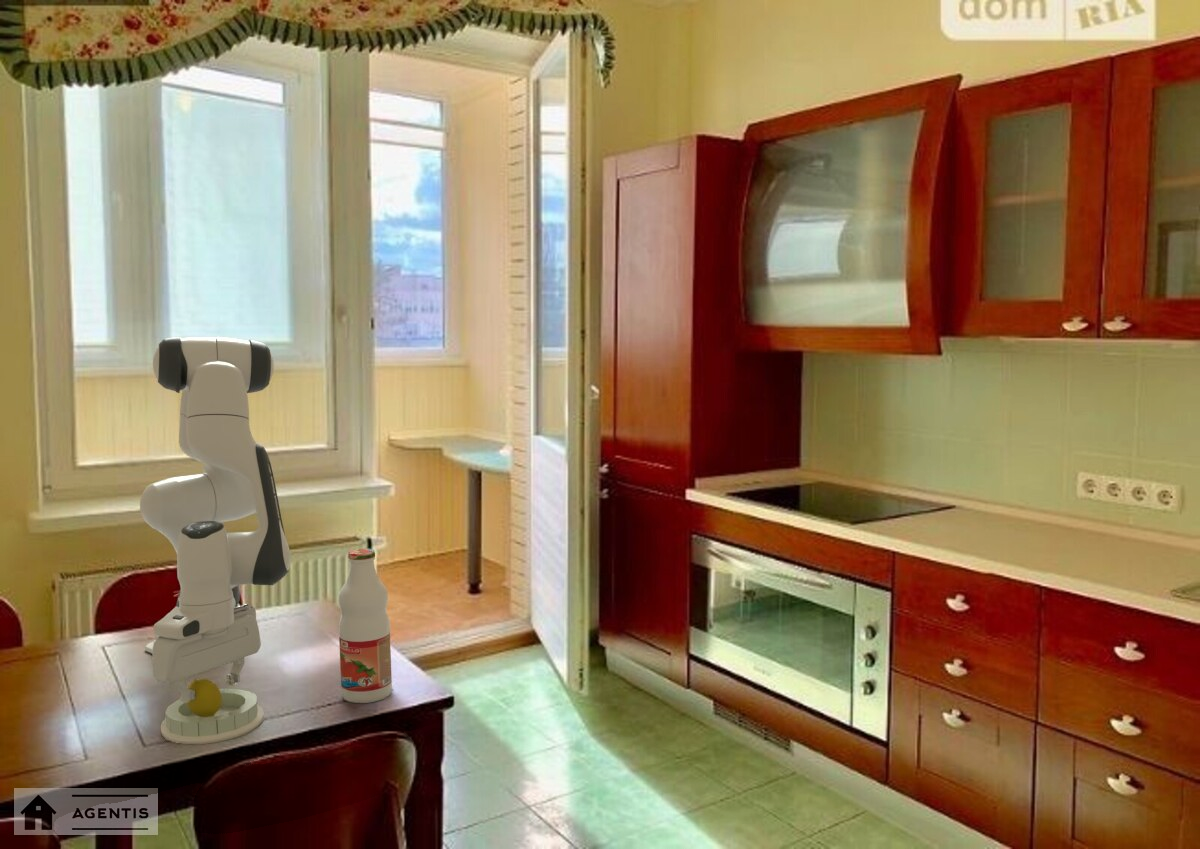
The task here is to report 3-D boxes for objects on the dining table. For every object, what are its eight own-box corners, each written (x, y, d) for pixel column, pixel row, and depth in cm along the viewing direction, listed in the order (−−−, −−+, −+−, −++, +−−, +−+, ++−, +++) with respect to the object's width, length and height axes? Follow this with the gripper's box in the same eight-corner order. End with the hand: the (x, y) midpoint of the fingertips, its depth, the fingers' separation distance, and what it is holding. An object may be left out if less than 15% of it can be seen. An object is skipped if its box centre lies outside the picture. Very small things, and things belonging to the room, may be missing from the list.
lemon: (218, 725, 169) (200, 690, 166) (191, 727, 170) (172, 692, 167) (234, 704, 174) (216, 668, 171) (208, 706, 175) (190, 671, 172)
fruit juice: (401, 694, 185) (396, 551, 182) (357, 708, 179) (351, 560, 175) (376, 681, 192) (370, 543, 189) (332, 694, 185) (326, 551, 182)
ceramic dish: (139, 732, 169) (138, 713, 169) (220, 698, 184) (219, 680, 184) (205, 752, 161) (204, 732, 161) (284, 715, 176) (283, 697, 175)
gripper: (242, 599, 180) (246, 671, 182) (144, 628, 163) (149, 708, 164) (266, 603, 177) (270, 676, 178) (169, 633, 160) (173, 714, 161)
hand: (211, 692), depth 171 cm, fingers open, 8 cm apart
